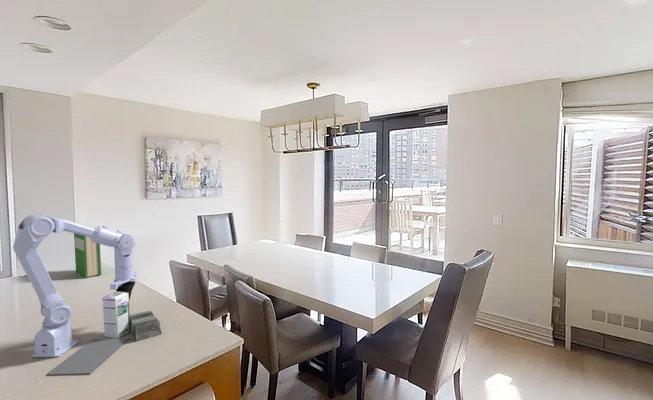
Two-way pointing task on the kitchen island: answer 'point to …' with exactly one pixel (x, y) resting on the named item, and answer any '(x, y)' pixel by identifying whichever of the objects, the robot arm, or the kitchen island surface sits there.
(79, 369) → the mat
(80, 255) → the hardback book
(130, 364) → the kitchen island surface
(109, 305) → the syrup box
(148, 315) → the stone block
